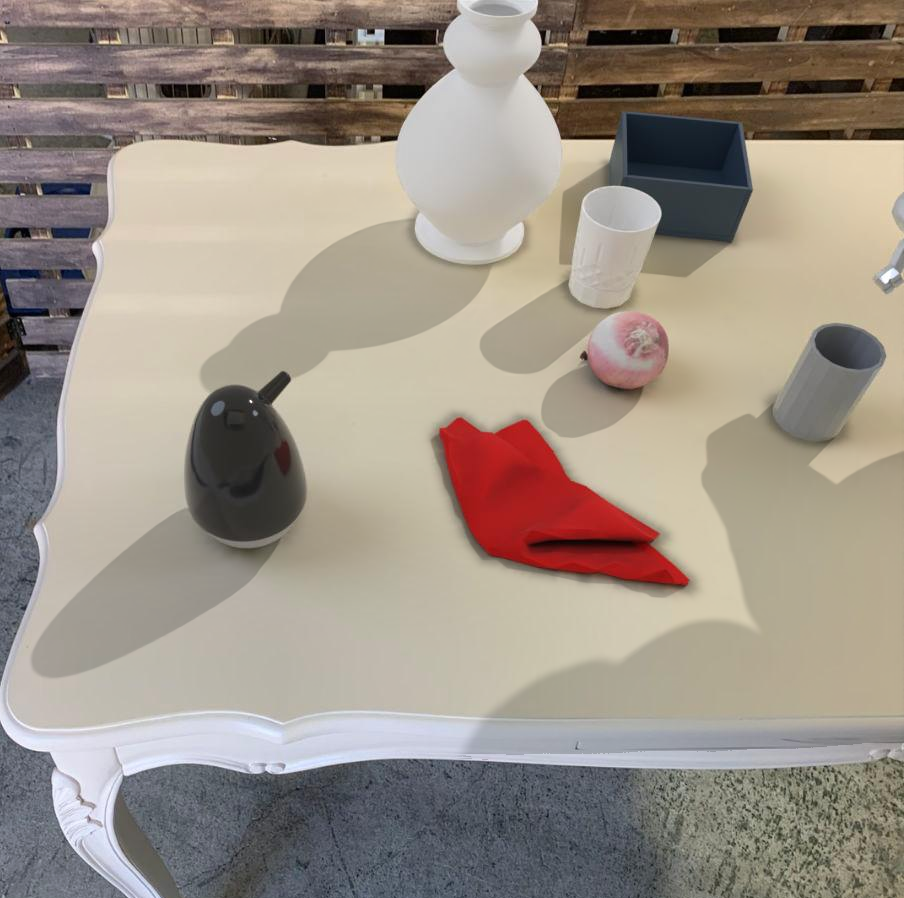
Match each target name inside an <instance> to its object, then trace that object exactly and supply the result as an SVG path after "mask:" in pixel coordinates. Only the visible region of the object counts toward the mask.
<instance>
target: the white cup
mask: <svg viewBox="0 0 904 898" xmlns="http://www.w3.org/2000/svg"><path fill="white" fill-rule="evenodd" d="M660 219H661V209H660V206H659V205H658V203H657V202H656V201H655V200H654V199H653V198H652V197H650V196H649V195H647V194H646V193H644V192H642V191H639V190H636V189H633V188H629V187H623V186H609V185H606V186H601V187H598V188H594V189H593V190H591V191H589V192H588V193H586V195H584V197H583V199H582V200H581V207H580V211H579V217H578V223H577V229H576V234H575V240H574V244H573V251H572V257H571V269H570V274H569V280H568V285H567V286H568V289H569V291H570V294H571V296H572V297H573V298H574V299H576V300H577V301H578V302H579V303H581V304H583V305H586V306H589V307H591V308H594V309H604V310H605V309H606V310H608V309H612V308H617V307H621V306H622V305H623V304H625V303H626V302H627V301H628V300H629V299H630V297H631V294H632V291H633V288H634V286H635V283H636V281H637V280H638V277H639V276H640V273H641V271H642V268H643V266H644V263H645V260H646V258H647V256H648V254H649V251H650V249H651V245H652V242H653V240H654V237H655V236H656V235H655V232H656V229H657V227H658V224H659V221H660Z"/></svg>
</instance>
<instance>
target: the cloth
mask: <svg viewBox="0 0 904 898" xmlns="http://www.w3.org/2000/svg"><path fill="white" fill-rule="evenodd" d="M438 429H439V431H438V432H439V438H440V440H441V442H442V443H443V450H444V457H445V462H446V465H447V468H448V472H449V476H450V479H451V483H452V487H453V490H454V492H455V494H456V498H457V500H458V503H459V506H460V509H461V511H462V515H463V517H464V519H465V521H466V524H467V526H468V528H469V531H470V532H471V534H472V536H473V538H474V539H475V540H476V541H477V542H478V544H479V545H480V546H481V547H482V548H483V549H484V551H485V552H486V553H487V554H488V555H490V556H493V557H499V558H502V559H505V560H509V561H514V562H517V563H521V564H525V565H528V566H532V567H537V568H543V569H552V570H553V569H554V570H561V571H569V572H575V573H576V572H577V573H583V574H605V575H608V576H613V577H617V578H619V579H620V578H621V579H624V580H631V581H643V582H651V583H661V584H671V585H672V584H673V585H681V586H688V584H689V583H690V578H689V577H688V576H686V575H685V574H684V573H683V572H682V571H681V569H680V568H679V567H677V566H676V565H675V564H674V563H673V562H671V561H670V560H669V559H668V558H667V557H665V555H663V554H662V553H661V552H660V551H658V549H656V548H655V547H654V546H652V545H651V544H650V543H649V542H651V541H652V542H654V541H655V540H656V539H657V537H658V536H659V535H660V532H659V531H657V530H655V529H654V528H652V527H650V526H649V525H647V524H645V523H644V522H642V521H641V520H639V519H637V518H636V517H634V516H633V515H631V514H629V513H627V512H626V511H624V510H622V509H621V508H619V507H618V506H616V505H614V504H613V503H611V502H609V501H607V500H606V499H605V498H604V497H602V496H600V495H599V494H598V493H596V492H595V491H594V490H593V489H591V488H589V487H588V486H587V485H585V484H582V483H579V482H576V481H573V480H572V479H571V478H570V476H568V475H567V473H566V472H565V470H564V467H563V466H562V464H561V462H560V460H559V459H558V457H557V455H556V454H555V451H554V450H553V449H552V447H551V446H550V445H549V444H548V442H547V441H546V440H545V439H544V437H543V436H542V434H541V433H540V432H539V431H538V429H536V427H535V426H533V424H532V423H531V422H530V421H529V420H528V419H521V420H518V421H517V422H515V423H512V424H510V425H508V426H505V427H503V428H501V429H500V430H498V431H496V432H495V433H494V432H492V431H481V430H480V429H479V428H477V427H476V426H474V425H473V424H472V423H470V421H469V422H468V421H467V420H466V419H464V418H463V417H456V418H455V419H454V420H452V422H450V424H448V425H447V426H446V427H439V428H438Z"/></svg>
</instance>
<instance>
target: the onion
mask: <svg viewBox="0 0 904 898" xmlns="http://www.w3.org/2000/svg"><path fill="white" fill-rule="evenodd" d="M669 349H670V344H669V338H668V335H667V332H666V330H665V329H664V327H663V326H662V324H661V323H660V322H659V321H658V320H657V319H656V318H654V317H652V316H651V315H648V314H646V313H644V312H640V311H633V310H631V311H630V310H629V311H628V310H627V311H626V310H625V311H619V312H618V311H617V312H615V313H613V314H611V315H608V316H606V317H605V318H604V319H602V320H601V321H600V322H598V324H597V325H596V326H595V327H594V328H593V330H592V332H591V333H590V336H589V338H588V341H587V351H586V350H583V351H582V353H581V354H580V355H579V359H581V360H582V361H584V362H585V361H588V366H589V368H590V370H591V371H592V373H593V375H594V376H595V377H596V378H597V379H598V380H599V381H601V382H602V383H603V384H605V385H607V386H610V387H614V388H615V389H617V390H619V391H621V390H634V389H637V388H641V387H643V386H645V385H648V384H649V383H651V382H652V381H654V380H655V379H656V378H658V376H660V374H662V373H663V371H664V370H665V367H666V366H667V362H668V359H669V352H670V350H669Z"/></svg>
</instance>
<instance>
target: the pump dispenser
mask: <svg viewBox="0 0 904 898" xmlns="http://www.w3.org/2000/svg"><path fill="white" fill-rule="evenodd" d="M291 382H292V376H291V375H290V374H289V373H288V371H285V370H281V371H280V372H279V373H278V374H276V375H275V376H274V377H273V378H272V379H271V380H269V381H268V382H267V383H266V384H265V385H263V386H262V387H261V388H260V389H259V390H256V389H255V388H252V387H250V386H247V385H244V384H241V383H240V384H239V383H230V384H225V385H221V386H219V387H217V388H216V389H214V390H212V392H210V393H209V394H208V395H207V396H206V397H205V398H204V400H203V401H202V402H201V404H200V406H199V408H198V409H197V410H196V413H195V415H194V418H193V421H192V423H191V426H190V430H189V433H188V438H187V443H186V448H185V453H184V464H183V487H184V488H183V490H184V491H183V492H184V498H185V502H186V506H187V509H188V512H189V514H190V516H191V518H192V519H193V520H194V522H195V523H196V524H197V525H198V526H199V527H200V528H202V530H203V531H205V532H206V533H207V534H208V535H209V536H210V537H212V538H213V539H214V540H216V541H218V542H220V543H221V544H224V545H226V546H229V547H233V548H239V549H254V548H255V549H256V548H261V547H265V546H267V545H270V544H272V543H274V542H276V541H278V540H279V539H281V538H282V537H284V536H285V535H286V533H288V532H289V531H290V530H291V529H292V527H293V526H294V524H295V523H296V522H297V520H298V518H299V516H300V515H301V513H302V511H303V509H304V507H305V505H306V502H307V497H308V481H307V475H306V470H305V466H304V463H303V460H302V456H301V453H300V450H299V448H298V447H299V446H298V444H297V442H296V440H295V437H294V436H293V434H292V432H291V430H290V428H289V426H288V424H287V422H286V421H285V419H284V418H283V416H282V415H281V413H280V412H279V411H278V410H277V408H275V406H274V402H275V401H276V400H277V399H278V398H279V396H280V395H281V394H282V393H283V392H284V390H285V389H286V388H287V387H288V386H289V384H290V383H291Z"/></svg>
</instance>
